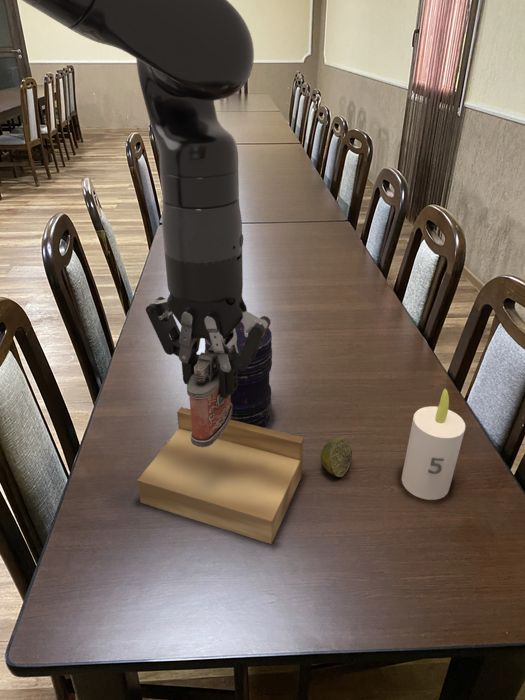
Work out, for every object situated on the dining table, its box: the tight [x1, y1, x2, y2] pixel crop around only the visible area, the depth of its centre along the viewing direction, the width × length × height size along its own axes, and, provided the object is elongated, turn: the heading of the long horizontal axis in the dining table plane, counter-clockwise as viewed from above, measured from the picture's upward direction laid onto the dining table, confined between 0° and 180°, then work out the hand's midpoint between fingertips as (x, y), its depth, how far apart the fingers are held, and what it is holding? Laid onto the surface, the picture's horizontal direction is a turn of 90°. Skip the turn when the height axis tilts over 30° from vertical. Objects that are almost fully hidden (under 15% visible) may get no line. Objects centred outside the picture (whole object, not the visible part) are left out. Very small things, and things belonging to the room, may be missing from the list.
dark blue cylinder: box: [204, 322, 273, 428], centre depth 81 cm, size 10×10×15 cm
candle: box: [401, 388, 466, 501], centre depth 69 cm, size 6×6×15 cm
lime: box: [319, 437, 353, 478], centre depth 73 cm, size 4×5×5 cm
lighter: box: [186, 346, 232, 447], centre depth 61 cm, size 8×3×10 cm, turn 161°
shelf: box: [137, 406, 305, 545], centre depth 70 cm, size 12×18×7 cm, turn 69°
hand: (210, 389), depth 61 cm, fingers closed on lighter, 3 cm apart
